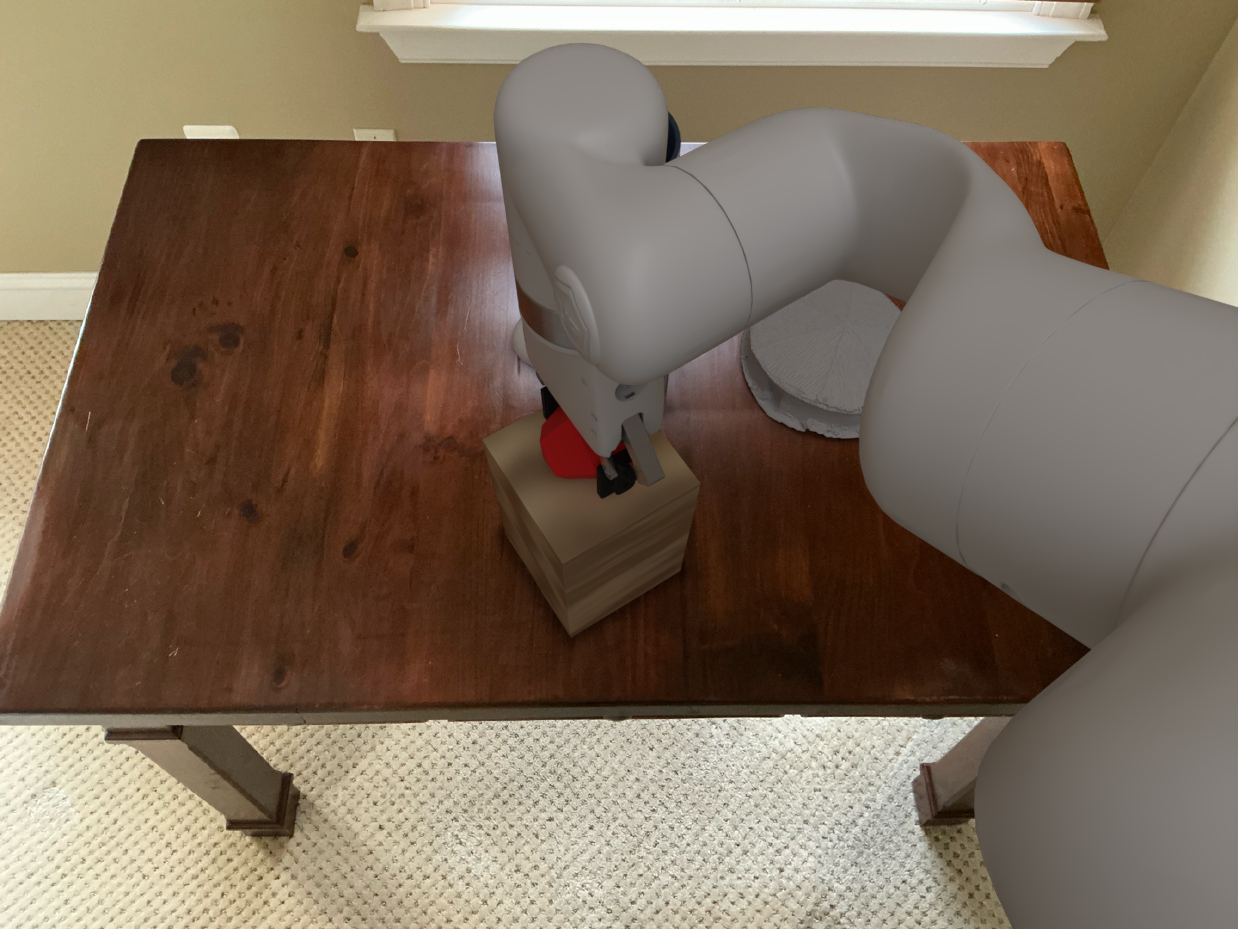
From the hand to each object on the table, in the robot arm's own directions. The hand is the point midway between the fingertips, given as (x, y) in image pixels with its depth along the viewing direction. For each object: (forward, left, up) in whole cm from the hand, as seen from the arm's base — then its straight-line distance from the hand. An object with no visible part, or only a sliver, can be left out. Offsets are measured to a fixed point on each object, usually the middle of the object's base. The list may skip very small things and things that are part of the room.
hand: (590, 447), depth 60 cm
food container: (+5, -33, -20) cm, 39 cm away
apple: (0, 0, -1) cm, 1 cm away
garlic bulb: (+23, -8, -20) cm, 32 cm away
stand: (0, 0, -20) cm, 20 cm away
